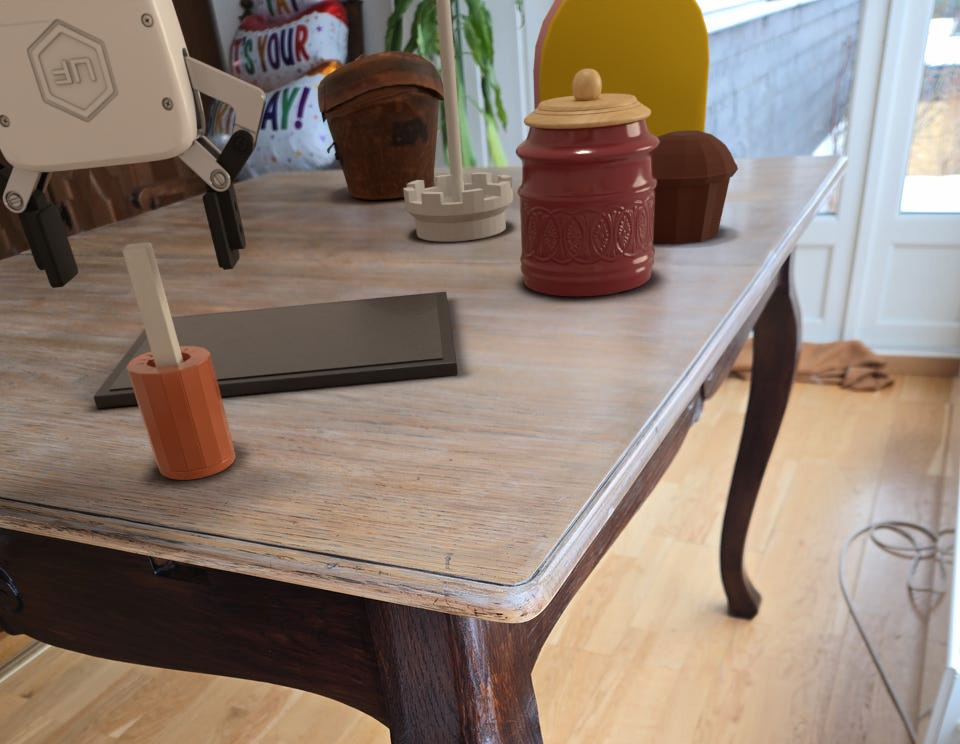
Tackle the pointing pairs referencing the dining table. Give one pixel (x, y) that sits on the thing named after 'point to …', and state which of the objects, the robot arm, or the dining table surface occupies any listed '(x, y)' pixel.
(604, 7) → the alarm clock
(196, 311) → the dining table surface
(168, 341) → the stylus
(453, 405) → the dining table surface
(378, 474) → the dining table surface
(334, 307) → the tablet
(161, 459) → the pen pot
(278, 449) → the dining table surface
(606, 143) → the kitchen canister
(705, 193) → the muffin
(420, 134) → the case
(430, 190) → the flag stand
